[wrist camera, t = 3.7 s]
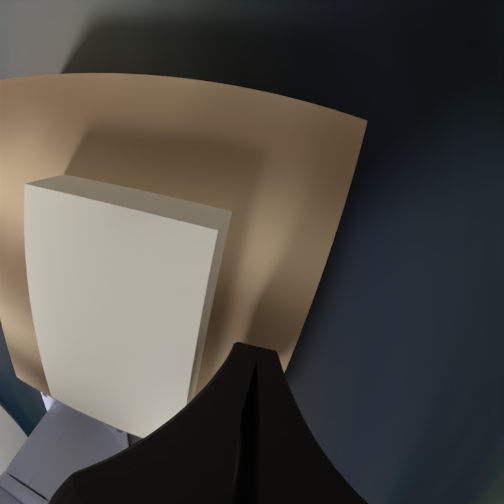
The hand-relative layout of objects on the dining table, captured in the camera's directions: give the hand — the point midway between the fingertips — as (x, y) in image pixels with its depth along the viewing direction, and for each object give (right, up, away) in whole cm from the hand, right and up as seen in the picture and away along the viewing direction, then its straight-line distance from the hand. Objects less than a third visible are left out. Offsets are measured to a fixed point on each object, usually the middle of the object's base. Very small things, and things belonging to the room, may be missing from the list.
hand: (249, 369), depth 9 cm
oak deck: (-5, +3, +5) cm, 8 cm away
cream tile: (-5, +1, 0) cm, 5 cm away
